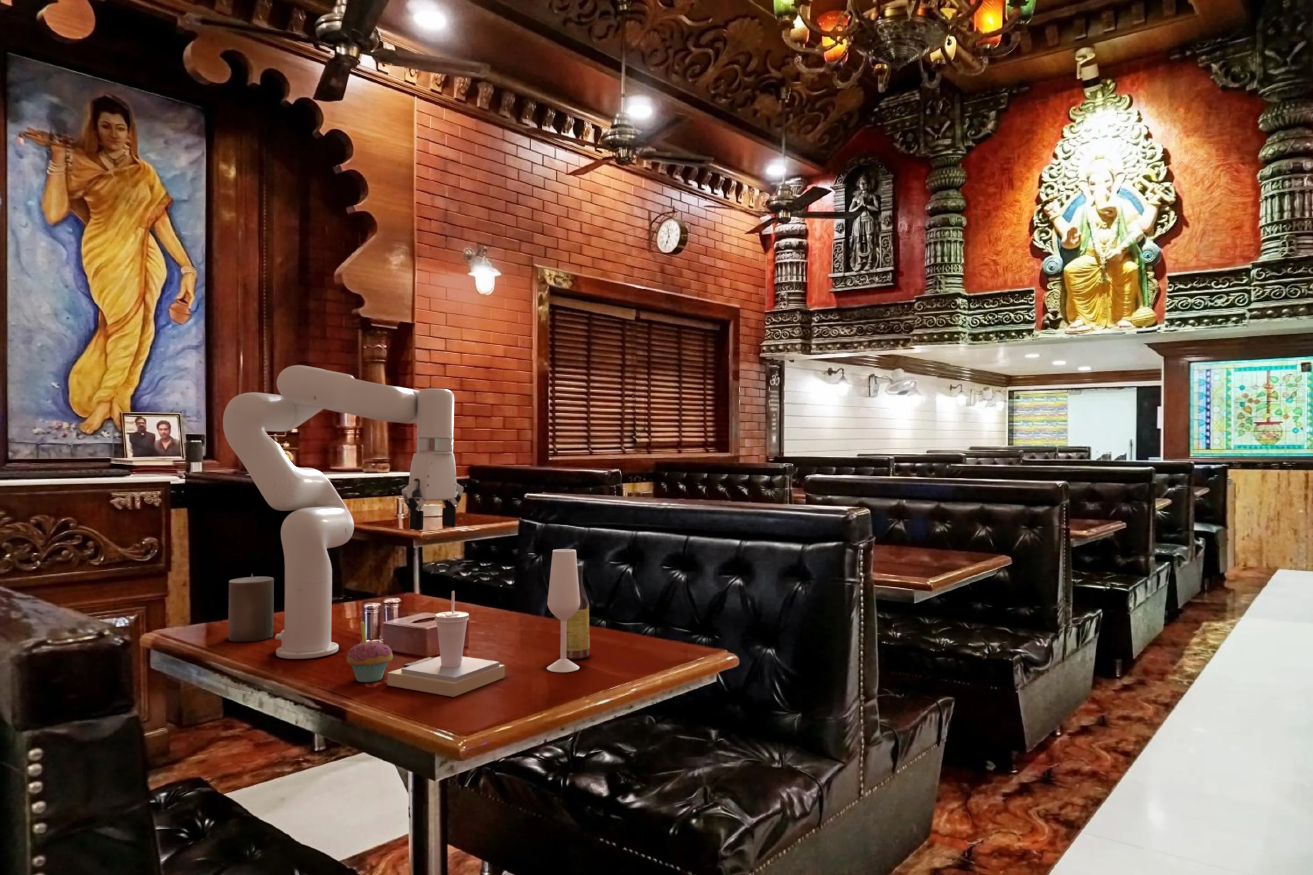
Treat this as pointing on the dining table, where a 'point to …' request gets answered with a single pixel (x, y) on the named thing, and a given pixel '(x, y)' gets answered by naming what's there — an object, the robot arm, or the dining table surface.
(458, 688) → the scale
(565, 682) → the dining table surface
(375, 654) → the cupcake
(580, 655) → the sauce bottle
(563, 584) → the champagne flute
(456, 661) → the smoothie
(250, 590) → the pillar candle
